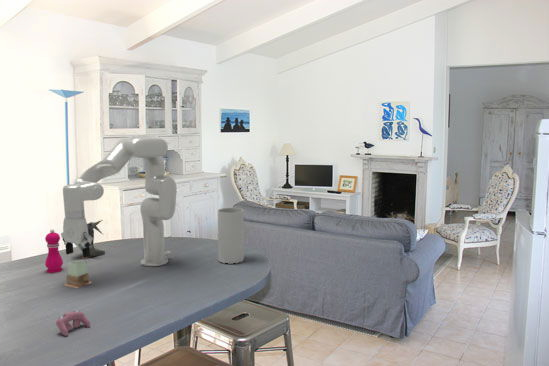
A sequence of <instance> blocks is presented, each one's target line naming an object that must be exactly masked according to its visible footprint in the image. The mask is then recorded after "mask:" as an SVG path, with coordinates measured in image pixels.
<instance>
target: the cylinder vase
mask: <svg viewBox="0 0 549 366" xmlns="http://www.w3.org/2000/svg"><path fill="white" fill-rule="evenodd" d="M244 211H245V209H243V208H241V207H224V208H220V209H219V208H218V209H217V251H218V252H217V256H218V257H217V259H218V261H219V263H221V262H222V264H225V263H228V264H227V265H232V264H233V263H236V264H240V263H242V262H243V261H244V259H245V226H244V225H245V221H244V220H245V212H244ZM239 262H240V263H239ZM233 265H234V264H233Z"/></svg>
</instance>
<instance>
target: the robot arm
mask: <svg viewBox="0 0 549 366" xmlns="http://www.w3.org/2000/svg"><path fill="white" fill-rule="evenodd" d="M168 149H169V146H168V143H167V141H166V140H165V139H163V138H160V137H147V136H146V137H145V136H143V137H124V138H121V139H120V140H119V141H118V142H117V143H116V144H115V145H114V147H113V148H112V149H111V150H110V151H109V152H108V153H107V154H106V156H105V157H104V158H103V159H102V160H100V161H99V162H97V163H95V164H94V165H92V166H90V167H88V168H87V169H86V170H85V171H84V172H83V173H82V174H81V175H79V177H78V178H76V179H77V180H75V182H74V183H71V184H66V185H64V186H63V187H62V196H63V197H62V198H63V208H64V209H63V210H64V218H63V223H62V224H63V225H62V226H63V227H62V230H63V231H62V232H61V233H60V237H61V238H62V241H63V244H64V245H65V254H66V255H70V254H74V245H73V244H74V243H76V244H80V243H81V245H82V246H83V248H82V251H81V252H82V253H83V255H82V256H83V258H82V259H85V257H86V258H87V257H88V256H90V249H89V247H90V245H91V244H92V240H93V238H92V237H91V236H90V235H89V234H88V227H87V224H88V222H87V220H86V216H85V215H86V214H85V201H87V202H88V201H97V200H99V199H101V198H102V197H103V196H104V193H105V190H104V187H103V186H102V184H101V183H99V181H101V180H102V179H105V178H108V177H112V176H115V175H117V174H118V173H120V172H121V171H122V169H124V167H125V166H126V165H127V163H128V162H129V161H130V160H131V159H132V158H141V159H143V160H144V163H145V177H144V178H145V181H144V189H145V192H146V193H147V194H149V195H153V196H158V197H153V196H152V197H146V198H144V199H143V200H142V202H141V204H140V209H139V210H140V214H141V219H142V228H143V229H142V232H143V234H142V235H143V258H142V259H141V260H140V264H141V265H142V266H145V267H160V266H163V265H166V264H168V263H169V259H168V258H167V256H169V255H171V251H170V250H167V251H165V233H164V232H165V229H164V228H165V226H164V222H163V221H169V220H171V219H172V218H173V216H174V215H175V212H176V207H177V206H176V204H177V192H178V191H177V189H178V188H177V183H176V181H175V180H174V178H173V177H171V176H168V175H165V161H164V160H165V159H164V156H165V155H166V154H167V152H168ZM84 243H86V244H84ZM82 253H81V254H82Z"/></svg>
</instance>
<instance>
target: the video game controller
mask: <svg viewBox="0 0 549 366" xmlns="http://www.w3.org/2000/svg"><path fill="white" fill-rule="evenodd" d="M70 322H72V324H71V323H70ZM81 323H82V324H83V325H84V326H86V327H87V328H90V326H91V322H90V320H89V318H88V317H87V316H86V315H85V313H84V312H83V311H81V310H73V311H69V312H66V313H64V314H63V315H61V316H59V318H58V319H56V326H57V328H58V329H59V331H60V332H61V334H62V335H63V336H65V337H67V336H68V335H69V331H71V330H72V328H74V329H77V328H79V327H80V326H81Z"/></svg>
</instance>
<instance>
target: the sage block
mask: <svg viewBox="0 0 549 366" xmlns="http://www.w3.org/2000/svg"><path fill="white" fill-rule="evenodd" d="M67 269H68V273H67V275H68V274H69V275H71V276H75V277H78V276H81V275H84V274H87V273H88V268H87V261H83V260H78V259H76V260H74V261H71V262H68V263H67Z"/></svg>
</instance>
